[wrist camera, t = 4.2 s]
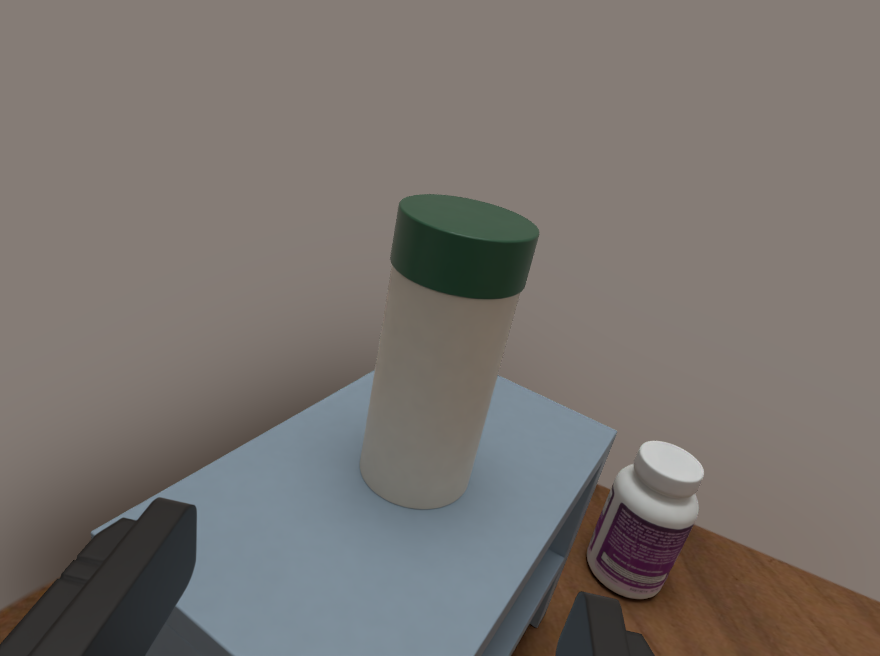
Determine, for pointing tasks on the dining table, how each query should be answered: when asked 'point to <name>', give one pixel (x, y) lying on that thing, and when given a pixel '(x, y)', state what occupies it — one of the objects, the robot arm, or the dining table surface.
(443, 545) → the shelf
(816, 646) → the dining table surface
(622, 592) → the pill bottle
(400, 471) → the spice bottle
